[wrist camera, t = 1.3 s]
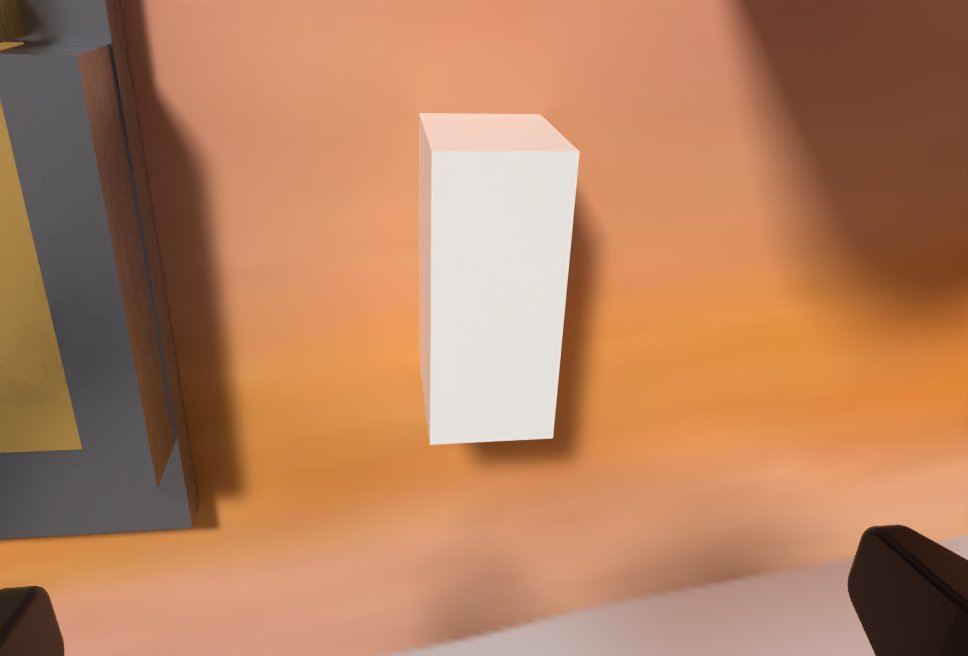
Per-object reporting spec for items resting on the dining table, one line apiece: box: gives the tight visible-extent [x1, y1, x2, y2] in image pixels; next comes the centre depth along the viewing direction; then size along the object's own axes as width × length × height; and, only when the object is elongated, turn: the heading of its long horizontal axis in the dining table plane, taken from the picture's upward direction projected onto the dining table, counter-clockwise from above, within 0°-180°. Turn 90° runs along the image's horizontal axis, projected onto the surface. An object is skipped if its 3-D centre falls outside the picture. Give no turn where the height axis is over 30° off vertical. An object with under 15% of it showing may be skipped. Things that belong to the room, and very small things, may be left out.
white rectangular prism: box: [419, 113, 580, 445], centre depth 18 cm, size 7×3×4 cm, turn 178°
